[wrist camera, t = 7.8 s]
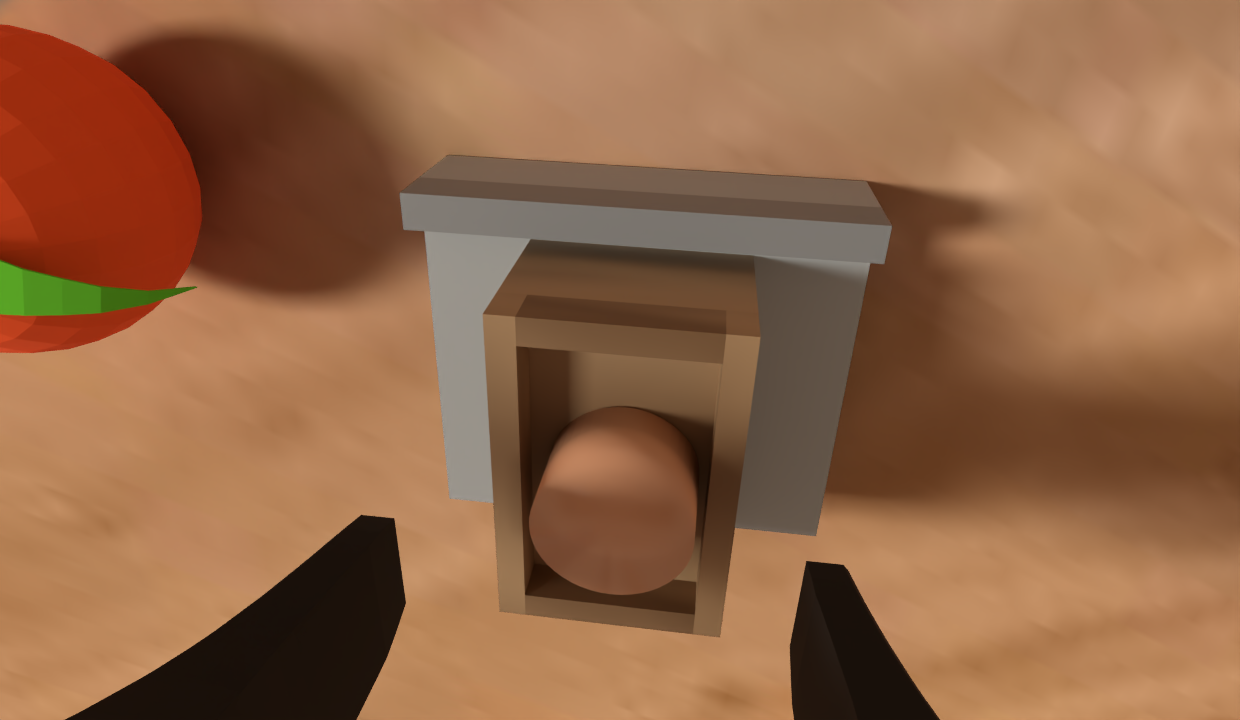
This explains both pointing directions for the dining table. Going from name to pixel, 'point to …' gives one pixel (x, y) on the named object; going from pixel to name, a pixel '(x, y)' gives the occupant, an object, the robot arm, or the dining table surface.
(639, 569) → the ball
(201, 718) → the robot arm
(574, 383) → the open wooden crate
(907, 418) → the dining table surface
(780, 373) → the dock
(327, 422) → the dining table surface
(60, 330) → the red fruit
